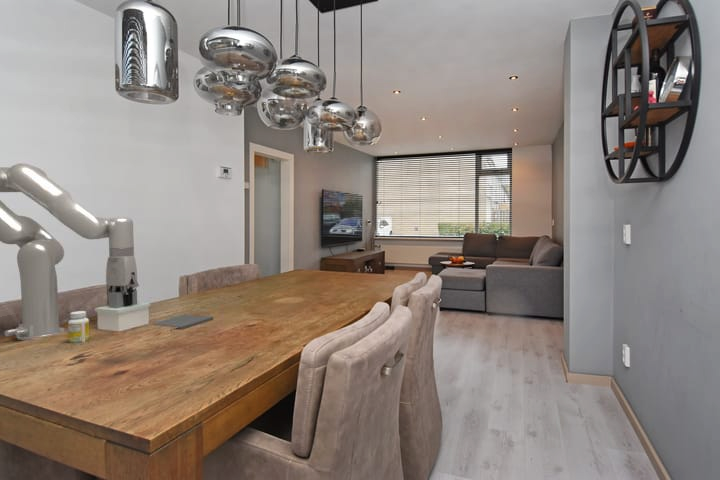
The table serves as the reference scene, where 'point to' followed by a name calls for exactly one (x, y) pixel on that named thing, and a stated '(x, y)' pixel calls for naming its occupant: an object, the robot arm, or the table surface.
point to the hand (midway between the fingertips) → (123, 304)
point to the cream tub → (123, 319)
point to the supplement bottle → (78, 327)
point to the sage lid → (121, 303)
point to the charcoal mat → (183, 321)
